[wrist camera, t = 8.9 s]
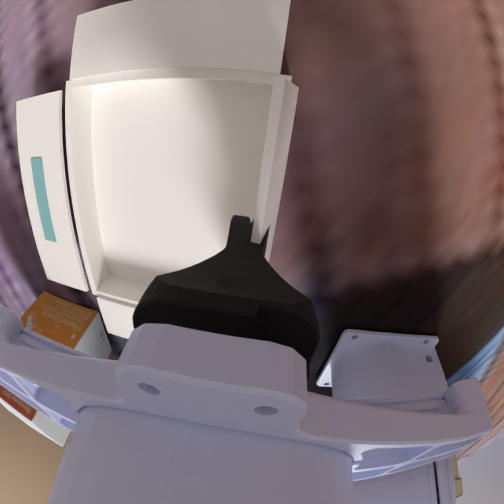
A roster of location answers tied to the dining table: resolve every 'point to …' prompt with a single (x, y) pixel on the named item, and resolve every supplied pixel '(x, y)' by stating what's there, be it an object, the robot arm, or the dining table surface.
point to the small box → (64, 332)
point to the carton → (166, 135)
